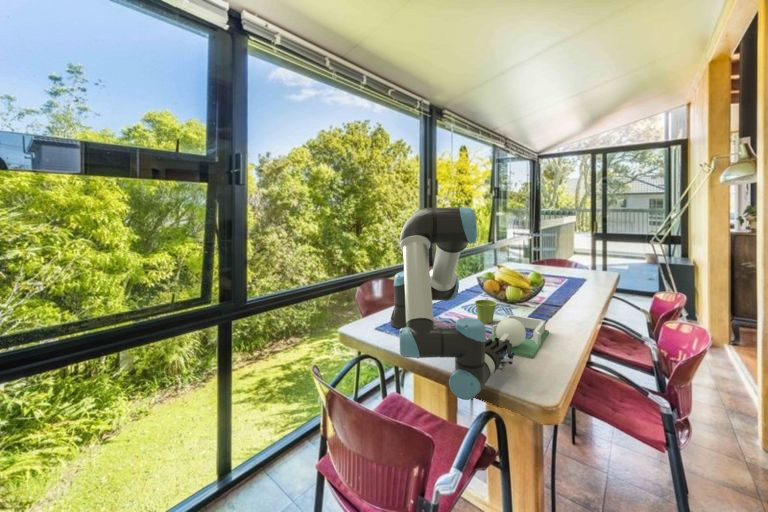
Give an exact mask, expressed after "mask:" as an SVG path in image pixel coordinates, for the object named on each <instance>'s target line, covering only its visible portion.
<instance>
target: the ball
mask: <svg viewBox="0 0 768 512" xmlns="http://www.w3.org/2000/svg"><path fill="white" fill-rule="evenodd" d="M503 319H504V318H503ZM503 319H502V320H501V321H499V322H498V323H497V324H498V325H497V328H496V336H497V338H501V337H502V336H503V335H504V334H509V340H510V342H509V343H511V344H512V347H516V346H519V345H520V344H522V343H523V341H524V340H525V338H526V337H527V330H525V327H524V326H523V324H522V323H521V322H520V321H518V320H516V319H513V318H507V319H504V320H503Z"/></svg>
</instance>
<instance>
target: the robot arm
mask: <svg viewBox="0 0 768 512" xmlns="http://www.w3.org/2000/svg"><path fill="white" fill-rule="evenodd" d="M477 226H478V225H477V218H476V213H475V210H474V209H472V208H471V207H464V206H455V207H452V206H450V207H449V206H448V207H424V208H421V209H418V210H417V211H415V212H413V214H411V215H410V216H409V217H408V218H407V219H406V221H405V222H404V224H403V226H402V229H401V231H400V235H399V248H400V250H401V251H402V252H403V253H402V255H403V270H402V271H399V272H398V273H396V274H395V275H394V278H393V289H394V290H393V292H394V293H393V294H394V298H393V301H394V307H393V310H392V313H391V315H390V325H391V327H393V328H395V329H398V330H399V354H400V356H401V357H402V358H411V359H426V358H430V359H431V358H432V359H433V358H445V359H446V358H454V367H455V368H454V371H452V373H451V375H450V377H449V378H448V385H449V389H450V390H451V392H452V394H454V395H455V397H457V398H458V399H460V400H463V401H469V400H472V399H474V398H475V397H476V396H477V395H478V394H479V393H480V392H481V390H483V388H484V386H485V385H486V384H487V383H488V381H489V380H490V379H491V377H492V376H493V375H494V374H495V373H496V371H497V370H498V369H499V367H500V365H502V364H504V363H505V362H506V363H508V364H509V365H514V354H511V352H512V344H511V343H509V342H510V340H509V334H504V335H503V336H502V337H501V338H495V340H494V341H492V339H489V338H488V339H489V340H488V339H487V337H486V336H487V335H486V334H487V333H486V326H485V323H483V322H482V321H480V320H478V318H473V317H463V318H459V319H458V320H456V321H455V326H454V327H435V318H434V317H435V315H434V306H433V301H445V302H449V301H454V300H455V299H456V298H457V297H458V293H459V287H460V282H459V281H460V280H459V276H458V275H457V274H456V269H457V266H458V263H459V260H460V255H461V252H463V251H464V250H465V249H467V247H468V246H469V245H468V244H470V245H471V244H475V243H476V242H477V240H478V239H477V238H478V227H477ZM431 244H432V245H434V244H435V246H436V249H435V254H434V255H435V256H434V261H433V267H432V268H431V269H430V260H429V249H430V248H431V246H432V245H431ZM506 349H507V352H506ZM504 353H506V354H505V355H504V356H503V354H504Z"/></svg>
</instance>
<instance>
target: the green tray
mask: <svg viewBox="0 0 768 512" xmlns="http://www.w3.org/2000/svg"><path fill="white" fill-rule="evenodd" d="M507 318H513V319H516V320H518V321H520V322H521V323H522V324H523V326H524V327H525V329H526V331H529V330H532V331H531V332H533V336H532V337H533V338H532V339H531V338H526V337H525V340H524V341H523V343H522V344H520V345H519V346H516V347H512V353H514V354H513V355H515V354H516V356H521V357H525V358H529V359H534V357H535V356H536V354H537V352H538V351H539V350H540V348H541V346H542V344H543V343H544V341H545V339H546V338H547V336H548V334H549V333H550V332H549V330H548V329H546V320H545V319H540V318H539V319H538V318H533V317H532V318H531V317H526V316H521V315H516V314H515V315H513V314H509V313H508V314H507V315H506V316H505V317H504V318H502V320H504V319H507ZM498 324H499V323H495V324H492V328H491V330H492V331H491V336H490V337H489V338H487V340H489V339H492V341H494V340H495V338H497V336H496V328H497V325H498ZM506 351H507V349H506Z"/></svg>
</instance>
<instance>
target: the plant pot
mask: <svg viewBox="0 0 768 512" xmlns="http://www.w3.org/2000/svg"><path fill="white" fill-rule="evenodd" d="M474 305H475V307H476V314H477V320H480V321H482V322H483V323H484V325H485V324H486V325H487V324H492V323H493V321H494V315H495V311H496V308H497V305H498V302H497V301H495V300H492V299H477V300H475V301H474Z"/></svg>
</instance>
